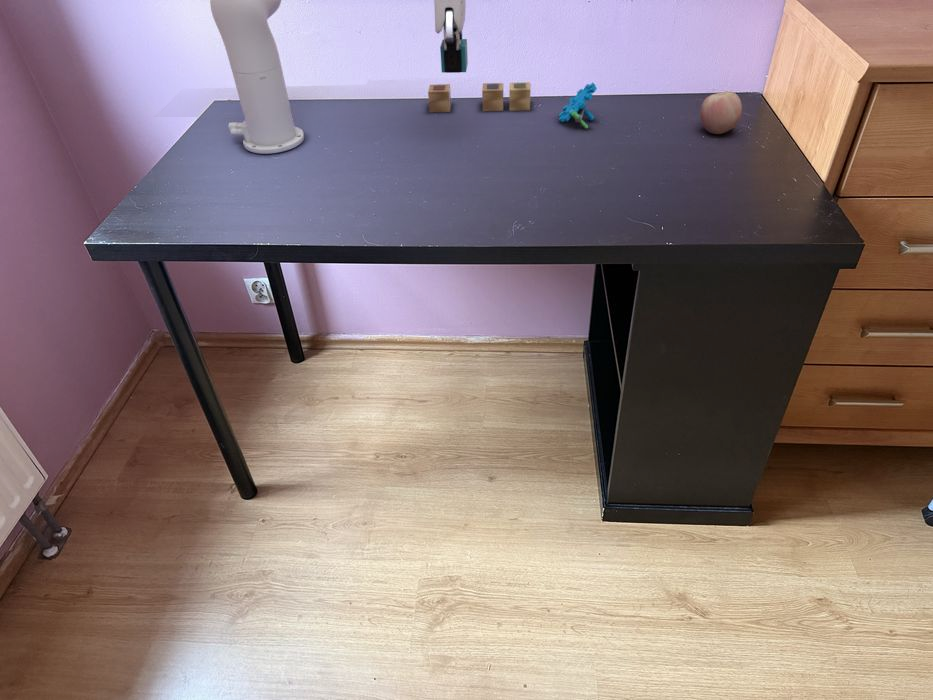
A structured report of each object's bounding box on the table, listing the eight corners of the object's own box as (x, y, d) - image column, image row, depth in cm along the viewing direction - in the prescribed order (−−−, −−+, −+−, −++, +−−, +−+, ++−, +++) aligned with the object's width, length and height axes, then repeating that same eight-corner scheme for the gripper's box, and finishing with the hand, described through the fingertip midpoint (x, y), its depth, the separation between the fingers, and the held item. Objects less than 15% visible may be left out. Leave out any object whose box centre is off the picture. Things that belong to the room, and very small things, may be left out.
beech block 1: (429, 112, 149) (427, 91, 146) (431, 104, 152) (429, 84, 149) (449, 112, 148) (448, 90, 145) (451, 104, 152) (450, 83, 149)
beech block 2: (482, 111, 148) (482, 90, 145) (483, 103, 151) (482, 82, 148) (503, 110, 148) (503, 89, 144) (503, 103, 151) (503, 82, 148)
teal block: (441, 72, 124) (440, 46, 121) (444, 64, 128) (442, 38, 124) (466, 72, 124) (465, 45, 121) (467, 64, 127) (466, 38, 124)
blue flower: (561, 101, 146) (595, 72, 139) (579, 120, 148) (613, 92, 141) (551, 128, 139) (587, 98, 132) (570, 147, 141) (606, 119, 134)
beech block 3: (509, 110, 147) (509, 89, 144) (509, 103, 151) (509, 82, 148) (530, 110, 147) (530, 89, 144) (529, 102, 151) (530, 81, 148)
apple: (724, 122, 138) (732, 83, 133) (744, 136, 132) (754, 96, 127) (689, 127, 137) (697, 88, 131) (709, 142, 131) (717, 102, 126)
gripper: (433, -52, 120) (439, 53, 132) (421, -31, 108) (430, 83, 119) (474, -53, 120) (477, 53, 132) (467, -32, 107) (471, 82, 119)
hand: (454, 66), depth 125 cm, fingers closed on teal block, 4 cm apart
